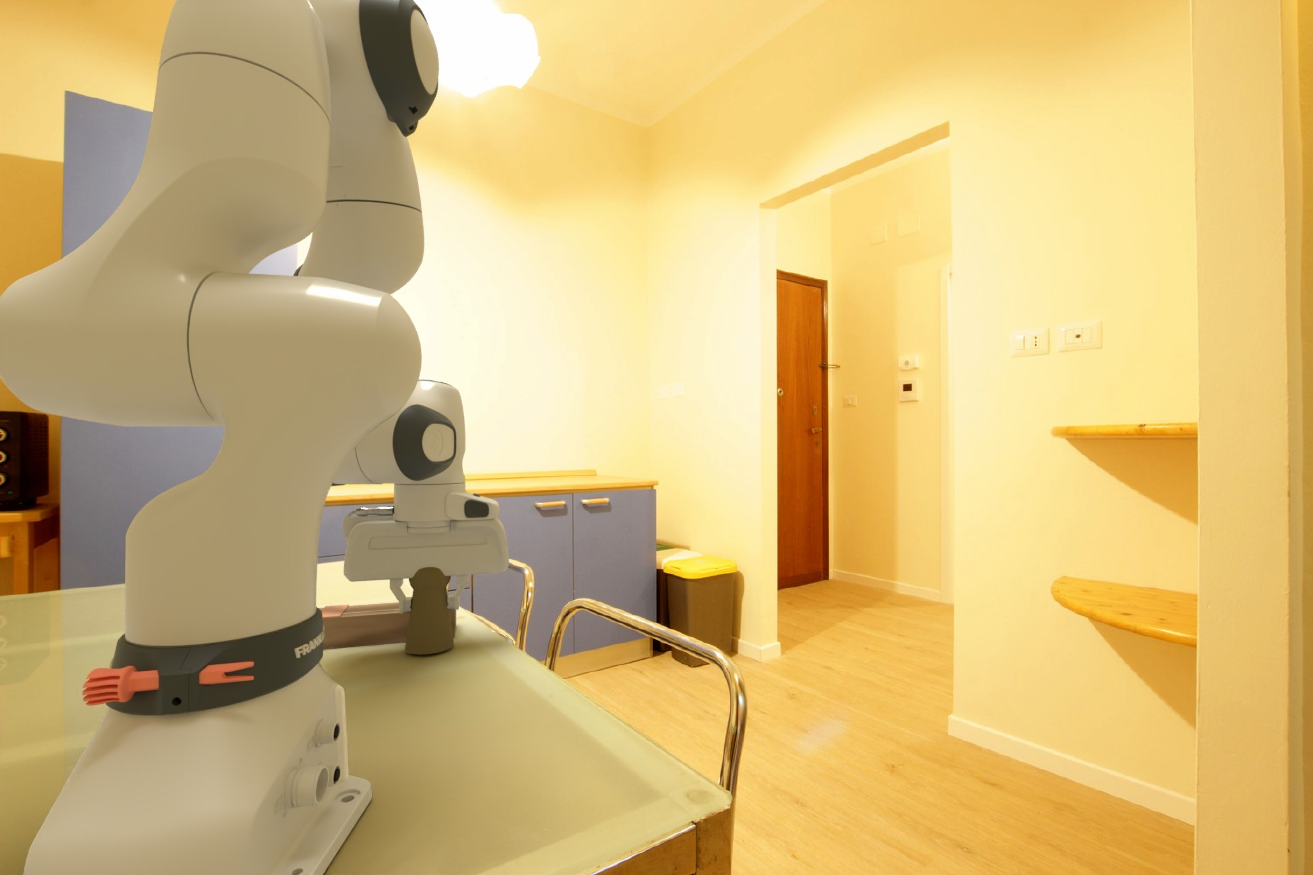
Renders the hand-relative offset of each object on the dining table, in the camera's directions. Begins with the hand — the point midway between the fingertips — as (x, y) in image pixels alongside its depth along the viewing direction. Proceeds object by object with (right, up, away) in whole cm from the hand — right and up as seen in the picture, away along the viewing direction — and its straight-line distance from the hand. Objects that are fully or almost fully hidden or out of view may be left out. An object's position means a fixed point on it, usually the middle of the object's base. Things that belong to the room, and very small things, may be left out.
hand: (429, 610), depth 79 cm
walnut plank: (-9, -5, +5) cm, 11 cm away
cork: (0, -5, 0) cm, 5 cm away
